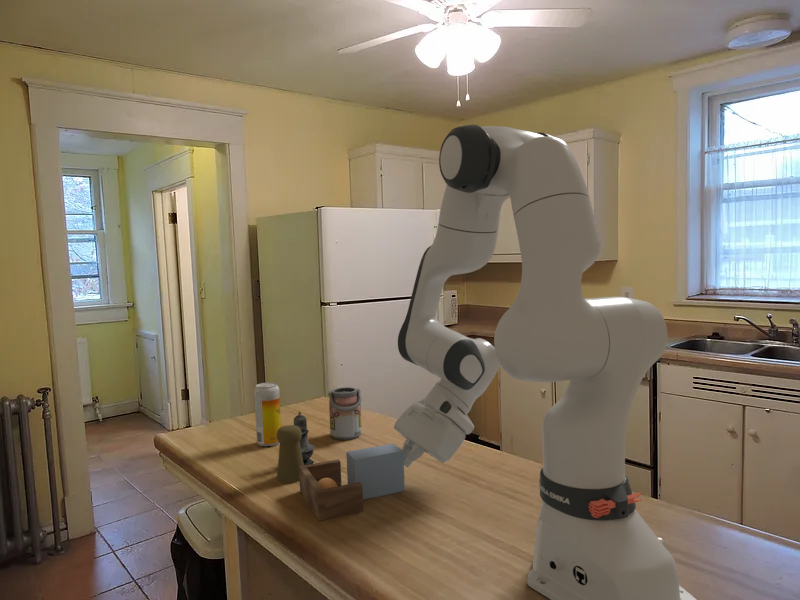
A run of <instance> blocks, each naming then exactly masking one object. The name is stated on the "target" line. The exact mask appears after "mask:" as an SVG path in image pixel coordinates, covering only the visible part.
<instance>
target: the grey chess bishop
mask: <svg viewBox="0 0 800 600" xmlns="http://www.w3.org/2000/svg"><path fill="white" fill-rule="evenodd" d="M307 422H308V421H307V417H306V415H302V412H301V411H298V415H296V416H295V417H294V418H293V425H295V426H298V427H300V429H301V432H302V437H301V440H300V441H299V442H300V447H301V453H302V458H303V464H304V465H309V464H313V463H314V464H315V461H314V460H313V459H311V457H312V456H313V454H314V450H315V446H314V444H310V443H309V440H308V439H309V437H308V436H309V435H308V433H309V430H308V426H307Z"/></svg>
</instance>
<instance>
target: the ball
mask: <svg viewBox="0 0 800 600" xmlns="http://www.w3.org/2000/svg"><path fill="white" fill-rule="evenodd" d="M318 484H319V485H320V486H321V488H322V489H327V488H332V487H337V484H336V482H335V481H334V480H333V479H331V478H323V479H321V480H319V481H318Z"/></svg>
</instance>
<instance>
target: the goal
mask: <svg viewBox="0 0 800 600" xmlns="http://www.w3.org/2000/svg"><path fill="white" fill-rule="evenodd" d="M341 465H342V463H341V460H340V459H332V460H327V461H323V462H314V464H309V465H304V466H299V479H300V481H299V492H300V493H301V495H302V497H303V498H304V499H305V501H306V502H307V504H308V506H309V507H310V509H311V510H312V512H313V513H314V515H315V516H316V518H317V519H318V521H324V520H330V519H333V518H339V517H342V516H347V515H351V514H355V513H356V514H357V513H362V512H364V500H363V489H362V483H361V482H357V483H352V484H348V483H347V484H343V485H342V468H341ZM323 478H331V479H333V480H334V481H335V482H336V484H337V487H332V488H327V489H322V488H321V486H320V485H319V484H318V481H319V480H321V479H323ZM338 485H340V486H338Z"/></svg>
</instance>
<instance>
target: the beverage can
mask: <svg viewBox="0 0 800 600" xmlns="http://www.w3.org/2000/svg"><path fill="white" fill-rule="evenodd" d="M361 392H362V391H361V390H360V388H355V387H350V386H347V387H346V386H345V387H344V386H343V387H337V388H334V389H332V390H329V391H328V392H327V395H328V396H329V401H328V406H329V407H328V408H329V410H328V411H329V413H328V414H329V432H330V436H332V438H333V439H335V440H338V439H339V440H338V441H346V440H347V441H349V440H354V439H357V438H358V437H360V436H361V435H362V430H363V429H362V409H361V407H362V406H361V405H362V401H363V399H362V395H361Z"/></svg>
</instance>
